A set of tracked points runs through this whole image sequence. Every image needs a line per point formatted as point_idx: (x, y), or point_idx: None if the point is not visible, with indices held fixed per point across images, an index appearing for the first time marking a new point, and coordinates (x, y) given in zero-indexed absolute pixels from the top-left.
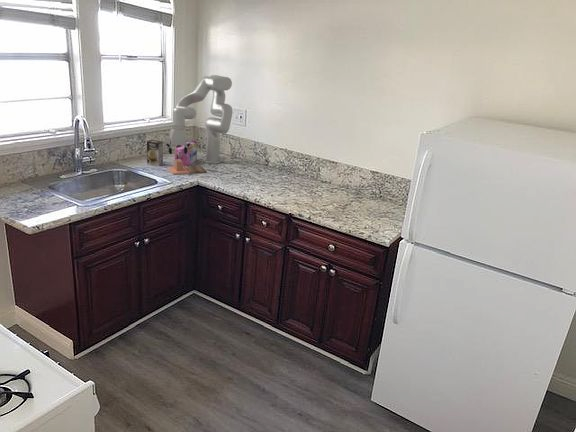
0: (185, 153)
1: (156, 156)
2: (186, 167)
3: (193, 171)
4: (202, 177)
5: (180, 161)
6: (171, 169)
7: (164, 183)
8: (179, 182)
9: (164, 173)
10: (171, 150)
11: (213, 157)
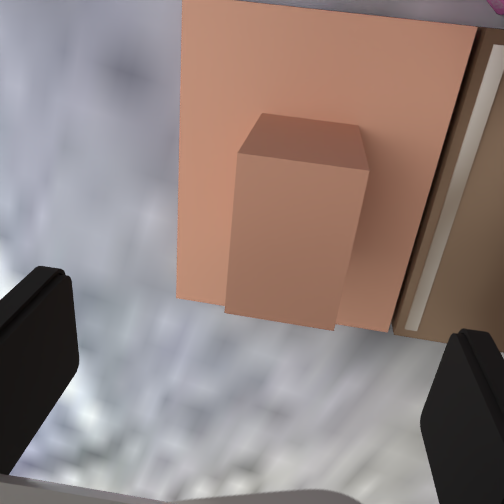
0: (425, 433)
1: None
2: (461, 148)
3: (441, 335)
4: None
5: (298, 307)
6: (201, 159)
7: (50, 437)
8: (174, 462)
9: (102, 195)
10: (19, 446)
11: None
